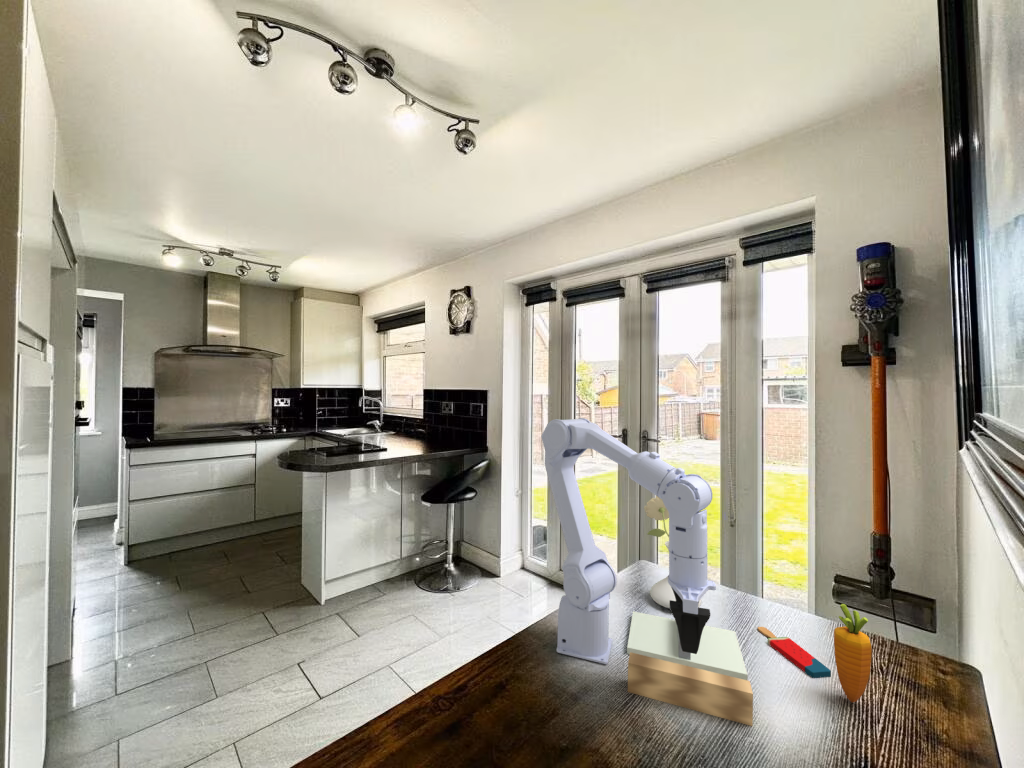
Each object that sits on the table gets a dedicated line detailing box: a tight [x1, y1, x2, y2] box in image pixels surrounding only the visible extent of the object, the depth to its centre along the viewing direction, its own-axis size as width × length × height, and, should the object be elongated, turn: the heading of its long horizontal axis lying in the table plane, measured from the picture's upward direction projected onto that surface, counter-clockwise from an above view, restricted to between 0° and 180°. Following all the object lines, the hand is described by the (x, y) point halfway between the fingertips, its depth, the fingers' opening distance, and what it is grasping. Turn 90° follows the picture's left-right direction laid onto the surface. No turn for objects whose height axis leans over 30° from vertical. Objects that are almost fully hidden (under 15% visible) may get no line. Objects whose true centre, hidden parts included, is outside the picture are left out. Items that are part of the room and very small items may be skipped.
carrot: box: [833, 603, 873, 703], centre depth 68 cm, size 5×5×15 cm
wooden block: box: [627, 652, 754, 727], centre depth 67 cm, size 18×3×5 cm, turn 68°
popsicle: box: [757, 626, 832, 679], centre depth 81 cm, size 5×2×15 cm
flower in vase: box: [643, 495, 703, 610], centre depth 99 cm, size 13×11×25 cm
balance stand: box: [626, 611, 749, 681], centre depth 82 cm, size 20×14×4 cm
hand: (688, 637), depth 67 cm, fingers open, 7 cm apart
